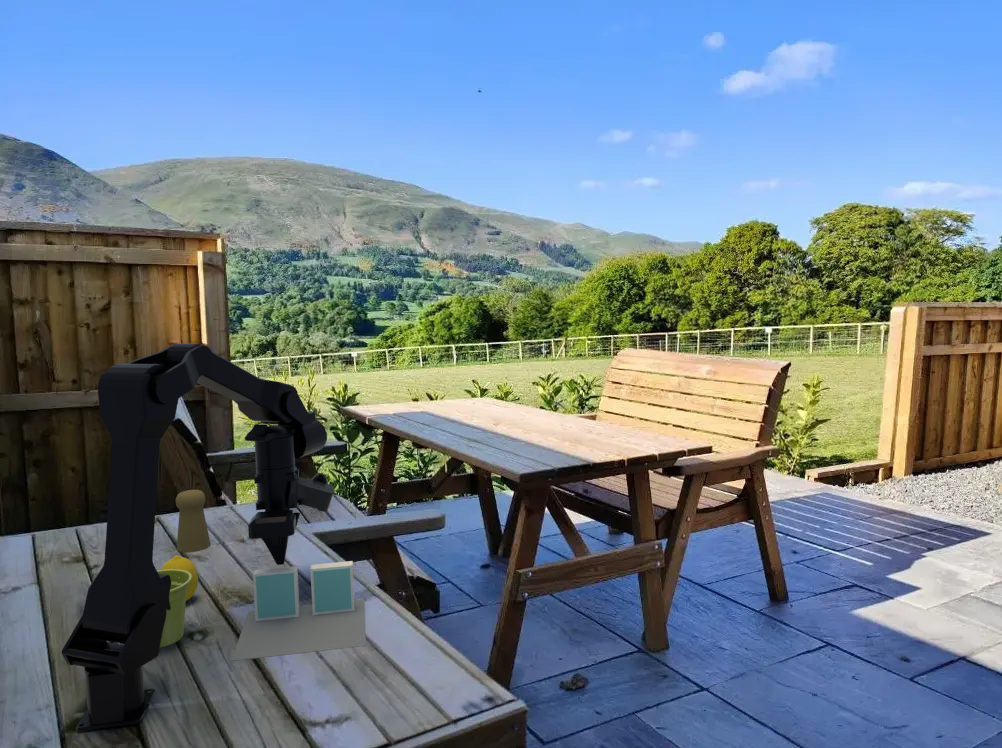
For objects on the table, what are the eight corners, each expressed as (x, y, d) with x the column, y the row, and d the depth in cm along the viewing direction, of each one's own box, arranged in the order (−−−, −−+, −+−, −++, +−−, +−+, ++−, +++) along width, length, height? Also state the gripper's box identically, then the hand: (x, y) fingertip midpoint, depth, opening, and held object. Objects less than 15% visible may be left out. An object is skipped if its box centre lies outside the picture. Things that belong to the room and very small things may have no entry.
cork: (176, 544, 136) (172, 489, 135) (210, 539, 138) (206, 485, 137) (176, 554, 130) (172, 497, 129) (211, 549, 133) (207, 492, 132)
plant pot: (112, 664, 90) (106, 600, 90) (129, 631, 99) (125, 573, 99) (189, 653, 93) (185, 591, 92) (200, 622, 102) (196, 565, 101)
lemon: (184, 614, 105) (181, 563, 104) (152, 612, 106) (148, 561, 105) (207, 599, 110) (203, 550, 109) (176, 597, 111) (172, 548, 110)
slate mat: (365, 649, 93) (365, 645, 93) (231, 665, 90) (231, 660, 90) (364, 602, 108) (364, 598, 108) (249, 614, 104) (248, 610, 104)
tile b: (354, 611, 103) (352, 565, 102) (312, 615, 102) (310, 569, 101) (354, 605, 105) (352, 560, 104) (313, 610, 104) (311, 564, 103)
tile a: (298, 617, 102) (296, 571, 101) (255, 621, 100) (252, 575, 100) (299, 611, 104) (297, 566, 103) (257, 615, 102) (254, 569, 102)
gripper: (327, 476, 99) (332, 582, 101) (331, 450, 117) (335, 539, 119) (245, 481, 97) (251, 589, 99) (262, 454, 115) (267, 545, 117)
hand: (280, 563), depth 108 cm, fingers closed
